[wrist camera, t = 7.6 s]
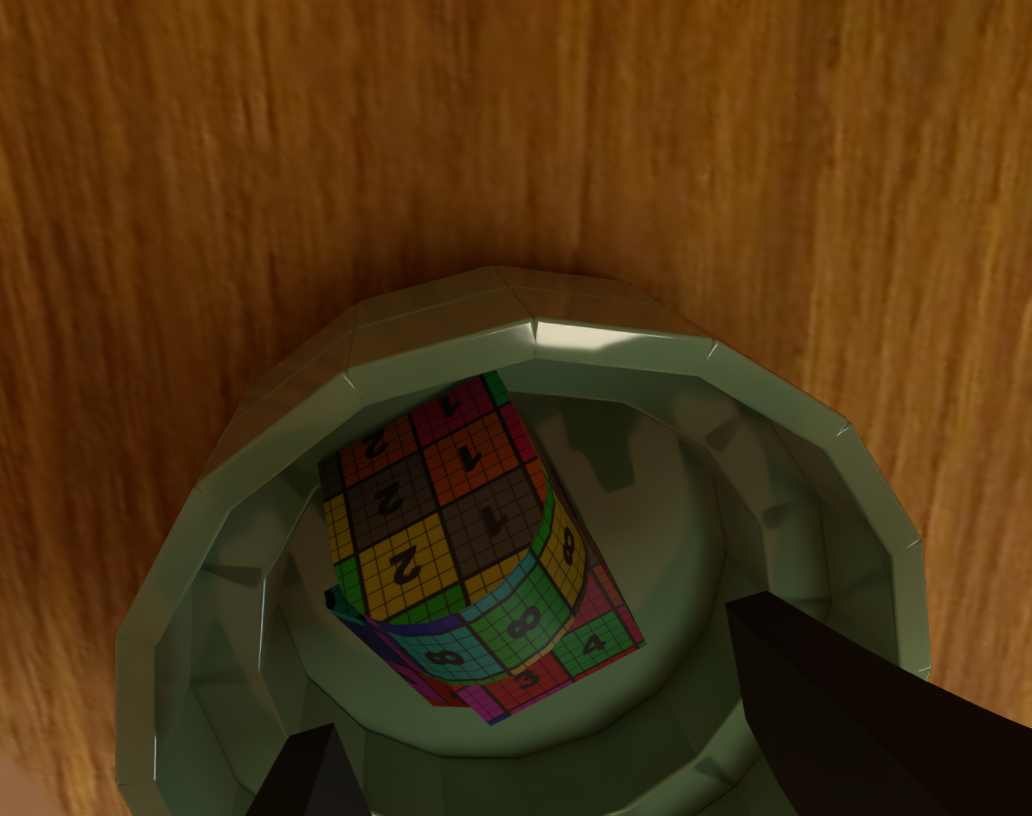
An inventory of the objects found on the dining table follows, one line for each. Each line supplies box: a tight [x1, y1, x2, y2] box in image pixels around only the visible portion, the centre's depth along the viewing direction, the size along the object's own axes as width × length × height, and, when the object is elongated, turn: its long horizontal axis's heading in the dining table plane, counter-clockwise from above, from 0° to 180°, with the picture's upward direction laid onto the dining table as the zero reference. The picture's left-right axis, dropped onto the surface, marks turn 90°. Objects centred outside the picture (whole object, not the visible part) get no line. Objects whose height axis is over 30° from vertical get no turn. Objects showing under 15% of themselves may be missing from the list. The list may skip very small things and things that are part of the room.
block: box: [317, 370, 647, 726], centre depth 12 cm, size 6×4×3 cm
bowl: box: [115, 265, 932, 816], centre depth 13 cm, size 11×11×4 cm
